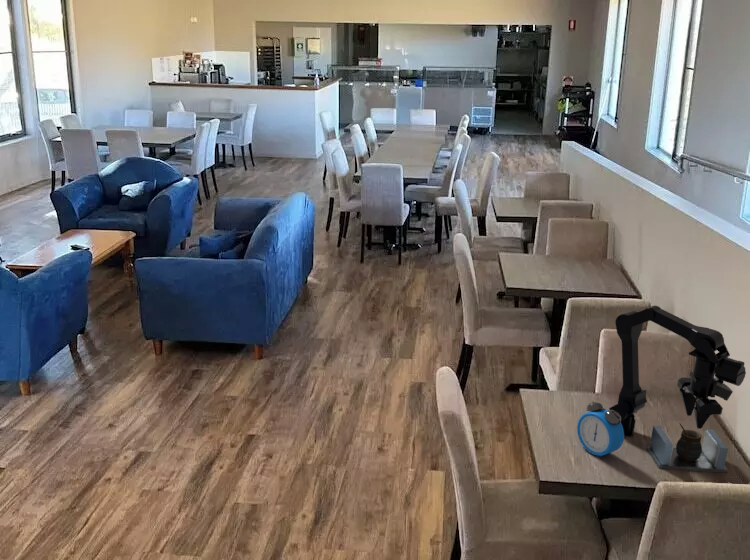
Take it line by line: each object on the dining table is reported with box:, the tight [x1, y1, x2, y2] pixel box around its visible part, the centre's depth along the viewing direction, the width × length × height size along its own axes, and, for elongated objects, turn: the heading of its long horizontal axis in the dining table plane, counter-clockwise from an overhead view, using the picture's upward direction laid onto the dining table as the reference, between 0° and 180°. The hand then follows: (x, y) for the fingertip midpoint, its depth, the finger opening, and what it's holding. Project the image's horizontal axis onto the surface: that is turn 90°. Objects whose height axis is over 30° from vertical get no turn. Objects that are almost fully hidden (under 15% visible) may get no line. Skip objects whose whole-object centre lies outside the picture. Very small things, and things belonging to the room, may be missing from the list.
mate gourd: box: [675, 422, 703, 461], centre depth 223 cm, size 7×8×10 cm
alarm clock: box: [576, 400, 625, 460], centre depth 224 cm, size 13×6×15 cm, turn 35°
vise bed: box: [646, 428, 729, 473], centre depth 223 cm, size 20×11×8 cm, turn 88°
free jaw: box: [649, 425, 674, 465], centre depth 223 cm, size 2×11×7 cm, turn 178°
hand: (693, 421), depth 221 cm, fingers open, 8 cm apart
